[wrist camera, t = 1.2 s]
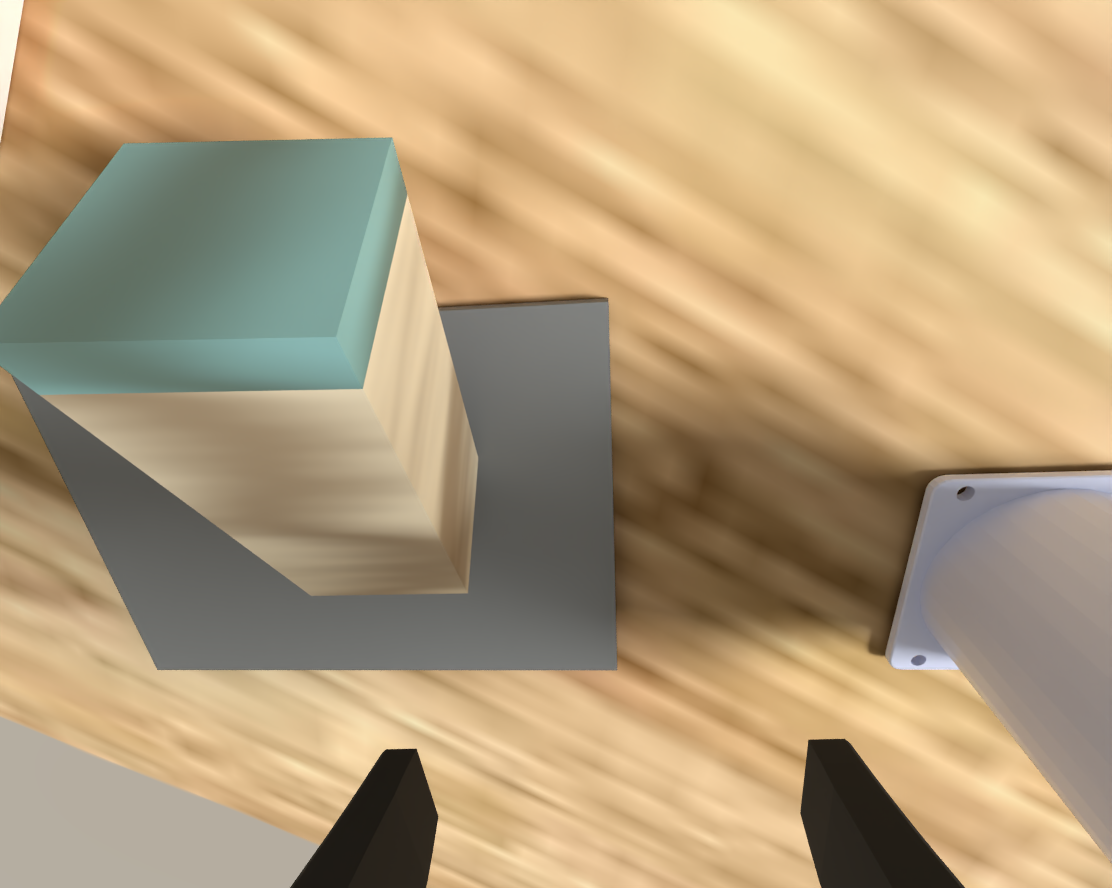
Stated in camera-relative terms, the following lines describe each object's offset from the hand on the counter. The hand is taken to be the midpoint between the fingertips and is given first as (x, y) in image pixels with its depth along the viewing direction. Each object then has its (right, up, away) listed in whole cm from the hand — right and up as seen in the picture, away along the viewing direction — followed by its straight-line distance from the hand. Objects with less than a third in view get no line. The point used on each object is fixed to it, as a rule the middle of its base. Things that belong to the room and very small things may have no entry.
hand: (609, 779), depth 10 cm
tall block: (-6, +4, +6) cm, 9 cm away
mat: (-8, +4, +9) cm, 13 cm away
